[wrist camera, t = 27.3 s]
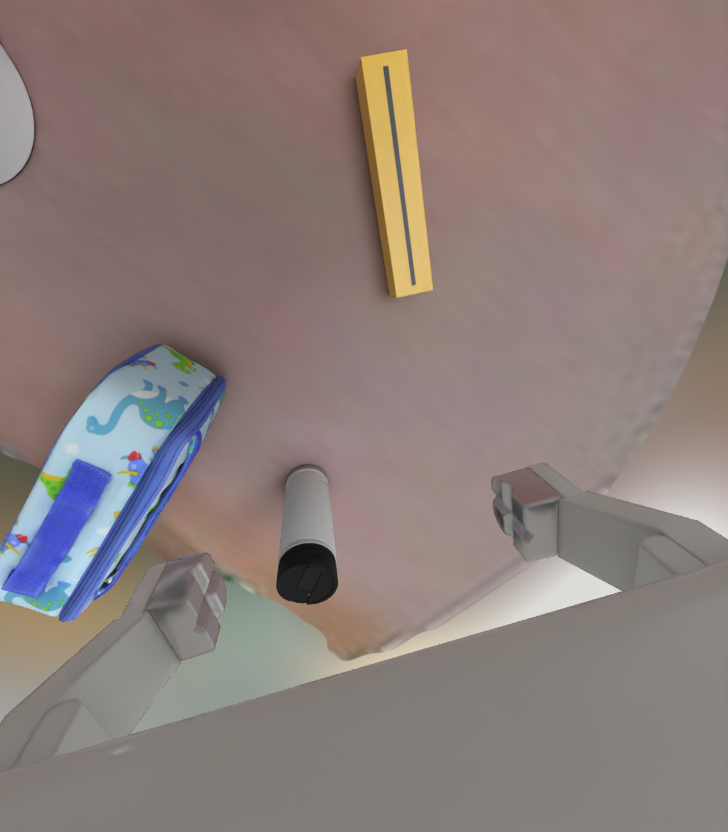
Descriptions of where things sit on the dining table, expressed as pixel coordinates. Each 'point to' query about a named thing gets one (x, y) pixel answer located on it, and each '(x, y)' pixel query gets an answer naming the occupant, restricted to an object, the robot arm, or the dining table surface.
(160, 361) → the lunch box
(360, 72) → the pencil case
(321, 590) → the travel mug
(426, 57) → the dining table surface
